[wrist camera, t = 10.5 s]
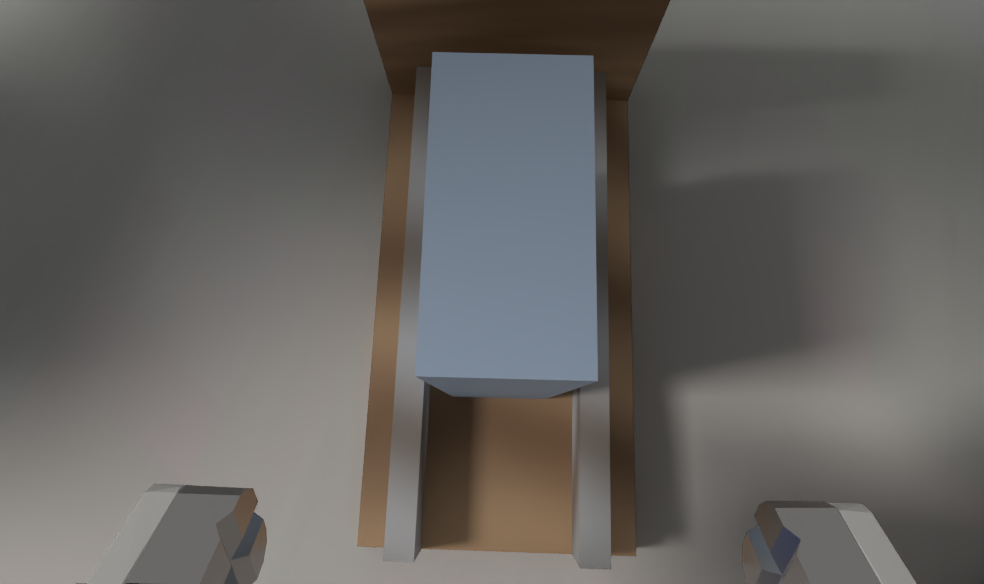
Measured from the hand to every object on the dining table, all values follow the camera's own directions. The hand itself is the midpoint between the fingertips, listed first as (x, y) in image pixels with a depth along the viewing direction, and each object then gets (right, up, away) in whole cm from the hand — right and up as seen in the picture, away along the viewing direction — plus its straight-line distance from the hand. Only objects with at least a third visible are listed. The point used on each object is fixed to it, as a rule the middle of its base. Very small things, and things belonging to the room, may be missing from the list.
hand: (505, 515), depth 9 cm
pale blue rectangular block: (0, +3, +13) cm, 13 cm away
